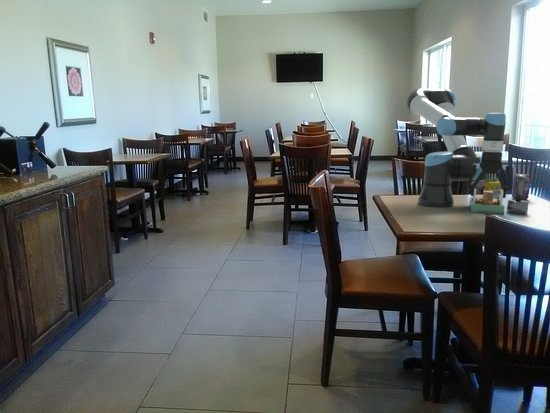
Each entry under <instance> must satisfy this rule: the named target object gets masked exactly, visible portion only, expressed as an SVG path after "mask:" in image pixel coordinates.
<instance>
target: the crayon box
mask: <svg viewBox="0 0 550 413" xmlns="http://www.w3.org/2000/svg"><path fill="white" fill-rule="evenodd" d="M497 180H498V178H497V176H495V177H485V182H484V183H485V184H484V191H493V199H499V200H500V193H501V190H502V186H501V184H500V182H499V181H497Z"/></svg>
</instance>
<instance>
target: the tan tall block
mask: <svg viewBox="0 0 550 413" xmlns="http://www.w3.org/2000/svg"><path fill="white" fill-rule="evenodd" d="M484 190H485V189H484ZM484 190H483V193H482V197H476V198H475V204H479V205H494V206H497V205H498V201H497V200H496V199H493V191H484Z"/></svg>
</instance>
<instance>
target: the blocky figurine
mask: <svg viewBox="0 0 550 413" xmlns="http://www.w3.org/2000/svg"><path fill="white" fill-rule="evenodd" d="M516 177H518V180H517V189H516V198H515V199H508V200H507V206H506V213H507V214H510V215H515V216H516V215H517V216H526V215H528V210H529V201H528V200H521V199H522V190H523V181H524V178H525V177H526V175H516Z"/></svg>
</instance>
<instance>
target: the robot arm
mask: <svg viewBox="0 0 550 413" xmlns="http://www.w3.org/2000/svg"><path fill="white" fill-rule="evenodd" d="M405 102H406V107H407V109H408V110H409V111H410V112H411V113H412V114H414V115H418V116H421V117H422V118H423V119H425V120H426V121H428V122H429V123H430V124H432V125H434V126H435V127H436V132H437V133H438V134H439V135H440V136H441V137H442V139H443V142H444V144H445V146H446V148H447V150H446V151H436V152H431V153H428V154H427V155H425V160H424V173H423V185H422V189H421V191H420V194H419V196H418V201H417V203H418V205H422V206H426V207H433V208H434V207H436V208H446V207H453V206H454V201H455V200H454V197H453V196H454V195H453V192H452V182H453V181H455V182H456V181H458V182H459V181H460V182H461V181H464V182H465V181H467V183H466V186H467V187H468V188H470V196H471V197H472V198H473V204H475V198H477V197H476V196H477V188H476V187H477V185H478V184H479V183H480V181H481V179H483V177H484V176H485V174H486V175H489V174H491V175H495V177H497V180H498V182H500V184H501V189H500V198H499V200H500V202H499V205H500V206H502V203H503V199H506V198H507V191H509V190H513V185H512V181H511V175H510V165H508V164H502V159H503V152H502V151H503V148H504V139H505V130H506V125H507V123H506V122H507V121H506V119H507V116H506V113H504V112H487V113H486V115H485V117H456V116H455V115H454V109H455V107H456V97H455V94H454V92H453V91H452V90H450V89H448V88H443V87H442V88H424V87H422V88H421V87H420V88H417V89H415V90H412V91H411V92H410V93H409V94H408V95H407V98H406V101H405ZM464 136H469V137H470V136H471V137H472V136H474V137H475V136H478V137H479V136H480V137H483V139H482V140H483V141H482V150H483V151H482V153H481V154H480V153H479V154H478V153H476V152H475V150H474V148H473V146H469V145H468V143H467V141H466V139H465V137H464ZM501 169H503V171H504V173H505V179H506V183H507V186H506V184H505V183H504V181H503V178H502V176H501V174H500V172H499V171H500V170H501ZM472 181H474V182H472Z"/></svg>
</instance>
